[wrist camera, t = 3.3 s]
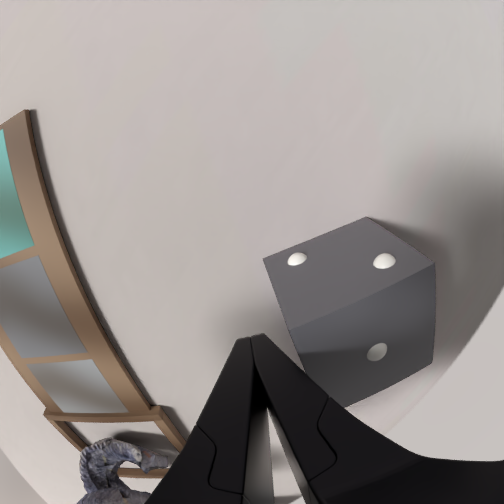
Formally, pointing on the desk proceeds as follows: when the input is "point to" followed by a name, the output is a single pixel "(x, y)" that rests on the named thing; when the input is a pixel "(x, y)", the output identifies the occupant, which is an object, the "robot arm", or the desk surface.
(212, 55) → the desk surface
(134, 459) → the seashell
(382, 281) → the die
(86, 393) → the board
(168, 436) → the frame
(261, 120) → the desk surface
